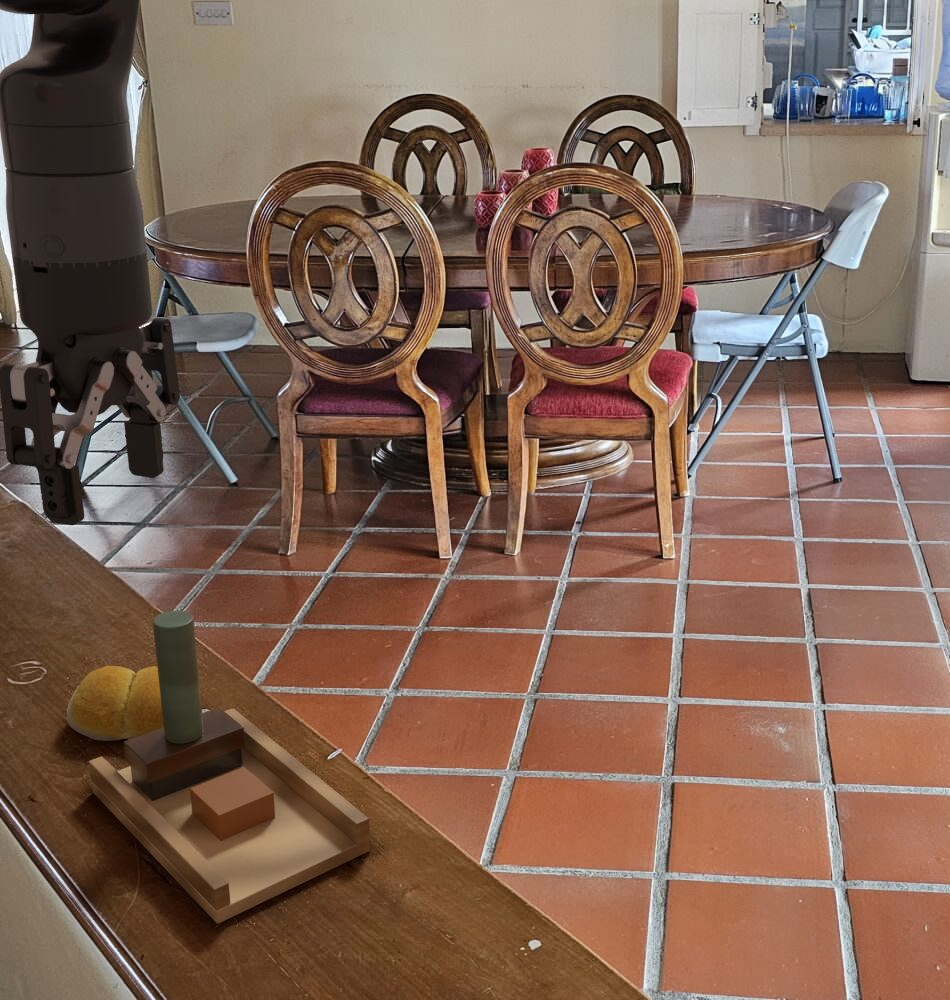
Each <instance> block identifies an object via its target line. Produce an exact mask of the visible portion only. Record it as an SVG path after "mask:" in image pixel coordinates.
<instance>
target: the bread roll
mask: <svg viewBox="0 0 950 1000" xmlns="http://www.w3.org/2000/svg"><path fill="white" fill-rule="evenodd" d="M66 722H67V723H68V726H69V727H70V728H72V729H73V730H74V731H75V732H77V733H79V734H80V735H83V736H85V737H87V738H90V739H92V740H95V741H105V742H108V741H109V742H112V741H121V740H130V739H133V738H135V737H138V736H141V735H144V734H147V733H149V732H152V731H155V730H158V729H160V728H163V727H164V725H163V716H162V706H161V697H160V687H159V678H158V668H157V665H156V666H155V665H153V666H148V667H144V668H142V669H140V670H138V671H137V672H135V671H133V670H132V669H130V668H127V667H123V666H120V665H104V666H102V667H99V668H97V669H94V670H92V671H91V672H89V673H88V674H87V675H86V676H85V677H84V678H83V679H82V681H81V682H80V683H79V684H78V685H77V686H76V689H75V690H74V692H73V693H72V696H71V697H70V699H69V702H68V705H67V709H66Z"/></svg>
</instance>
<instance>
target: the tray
mask: <svg viewBox="0 0 950 1000" xmlns="http://www.w3.org/2000/svg"><path fill="white" fill-rule="evenodd" d="M224 711H225V712H226V713H227V714H228V715H229V716H231V717H232V718H233V719H234V720H235V721H237V722H238V723H239V724H240V725H242V726H243V727H244V737H245V746H244V747H242V748H241V751H242V763H243V765H242V766H239V767H237V768H234V769H232V770H229V771H227V772H224V773H222V774H219V775H217V776H214V777H212V778H209V779H207V780H204V781H202V782H199V783H197V784H194V785H192V786H189V787H187V788H184V789H182V790H179V791H177V792H174V793H172V794H169V795H167V796H164V797H162V798H159V799H157V800H154V801H152V800H151V799H150V798H149V797H148V796H147V795H146V794H145V793H144V792H143V791H142V790H141V789H140V788H139V787H138V786H137V785H136V784H135V783H134V782H133V781H132V774H131V766H130V765H129V766H127V767H123V768H121V769H118V770H116V768H115V767H113V765H112V764H110V762H108V760H107V759H105V757H104V756H98V757H96V758H93V759H90V760H89V761H88V767H89V774H90V776H89V777H90V780H91V782H90V783H91V789H92V793H93V794H94V795H95V796H96V797H97V799H98V800H99V801H100V802H101V803H102V804H103V805H104V806H105V807H106V808H107V809H108V810H109V811H110V812H111V813H112V814H113V815H114V816H115V817H116V818H117V820H118V821H120V823H121V824H122V825H123V826H124V828H126V829H127V830H128V831H129V832H130V834H132V835H133V836H134V837H135V839H137V841H138V842H139V843H140V844H141V846H143V847H144V848H145V849H146V850H147V852H149V853H150V855H151V856H153V858H154V859H155V860H156V861H157V862H158V863H159V864H160V865H161V866H162V867H163V868H164V869H165V870H166V871H167V873H169V874H170V876H172V878H173V879H174V880H175V881H176V882H178V884H179V885H180V886H181V887H182V889H183V890H185V891H186V893H187V894H188V895H189V896H190V897H191V898H192V899H193V900H194V901H195V902H196V903H197V904H198V905H199V906H200V907H201V908H202V909H203V911H205V912H206V914H207V915H208V916H209V917H210V918H211V919H212V920H213V921H214V922H215V923H216V924H221V923H223V922H225V921H227V920H229V919H231V918H233V917H235V916H237V915H240V914H242V913H244V912H246V911H248V910H250V909H252V908H255V907H256V906H258V905H261V904H263V903H265V902H266V901H268V900H271V899H273V898H275V897H277V896H279V895H281V894H283V893H286V892H287V891H289V890H292V889H294V888H295V887H298V886H300V885H302V884H304V883H306V882H308V881H310V880H313V879H315V878H316V877H319V876H321V875H323V874H325V873H327V872H329V871H331V870H334V869H336V868H337V867H339V866H341V865H344V864H346V863H348V862H351V861H352V860H354V859H356V858H358V857H360V856H362V855H364V854H367V853H369V852H370V851H371V844H370V843H371V841H370V838H371V836H370V835H371V833H370V818H369V817H368V816H367V815H365V814H364V813H363V812H362V811H360V810H359V809H358V808H357V807H355V806H354V805H353V804H352V803H350V801H348V800H347V799H346V798H345V797H343V796H342V795H341V794H339V793H338V792H337V791H336V790H334V788H333V787H331V786H330V785H329V784H328V783H326V782H325V781H323V779H322V778H320V777H319V776H318V775H316V774H315V773H314V772H313V771H311V770H310V769H309V768H308V767H307V766H305V764H303V763H302V762H300V761H299V760H298V759H296V758H295V757H294V756H293V755H292V754H290V753H289V752H288V751H287V750H286V749H285V748H283V747H282V746H280V744H279V743H277V742H276V741H274V740H273V739H272V738H271V737H269V736H268V735H267V734H266V733H265V732H264V731H262V730H261V729H260V728H259V727H258V726H256V725H255V724H254V723H253V722H251V721H250V720H249V719H248V718H247V717H245V716H244V715H242V713H240V712H239V711H238V710H236V709H235V708H234V707H233V708H232V707H231V708H230V709H227V710H224ZM242 767H245V768H246V769H247V770H248V771H249V772H250V773H251V774H253V775H254V776H255V777H256V778H257V779H258V780H260V781H261V782H262V783H263V784H264V785H265V786H266V787H268V788H269V789H270V790H271V791H272V792H273V793H274V807H275V818H272V819H270V820H268V821H265V822H263V823H261V824H259V825H256V826H254V827H252V828H249V829H247V830H245V831H243V832H240V833H238V834H236V835H233V836H231V837H229V838H226V839H224V840H222V841H221V840H220V839H218V838H217V837H216V836H215V835H214V834H213V833H212V832H211V831H210V830H209V829H208V828H207V827H206V826H205V825H204V824H203V823H202V822H201V821H200V820H199V819H198V818H197V817H196V816H195V815H194V814H193V813H192V806H191V796H190V788H192V787H195V786H197V785H200V784H202V783H205V782H207V781H210V780H212V779H215V778H217V777H220V776H222V775H225V774H227V773H230V772H232V771H235V770H237V769H240V768H242Z"/></svg>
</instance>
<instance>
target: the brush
mask: <svg viewBox="0 0 950 1000" xmlns="http://www.w3.org/2000/svg"><path fill="white" fill-rule="evenodd" d="M194 619H195V618H194V615H193V614H192V613H191V612H189V611H187V610H178V609H176V610H168V611H164V612H160V613H159V614H157V615H156V616H155V617H154V618H153V619H152V629H153V630H152V631H153V637H154V638H153V639H154V648H155V649H154V650H155V657H156V666H157V668H158V678H159V687H160V697H161V706H162V716H163V725H164V727H163V728H160V729H158V730H155V731H152V732H149V733H147V734H144V735H141V736H138V737H135V738H133V739H130V740H128V739H126V740H124V741H123V749H124V756H125V758H124V759H125V762H126V763H127V764H128V765H129V766H131V774H132V781H133V782H134V783H135V784H136V785H137V786H138V787H139V788H140V789H141V790H142V791H143V792H144V793H145V794H146V795H147V796H148V797H149V798H150V799H151V800H152V801H154V800H157V799H159V798H162V797H164V796H167V795H169V794H172V793H174V792H177V791H179V790H182V789H184V788H187V787H189V786H192V785H194V784H197V783H199V782H202V781H204V780H207V779H209V778H212V777H214V776H217V775H219V774H222V773H224V772H227V771H229V770H232V769H234V768H237V767H239V766H242V765H243V763H242V751H241V748H242V747H244V746H245V737H244V727H243V726H242V725H240V724H239V723H238V722H237V721H235V720H234V719H233V718H232V717H231V716H229V715H228V714H227V713H226V712H225V711H226V710H223V709H222V708H221V707H220V706H218V707H216V708H212V709H209V710H208V711H207V710H206V711H204V712H203V708H202V697H201V696H202V695H201V684H200V675H199V665H198V653H197V642H196V641H197V640H196V631H195V620H194Z"/></svg>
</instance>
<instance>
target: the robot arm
mask: <svg viewBox="0 0 950 1000" xmlns="http://www.w3.org/2000/svg"><path fill="white" fill-rule="evenodd" d="M140 8H141V0H0V10H1V11H3V12H7V13H10V14H16V15H33V23H32V24H33V25H32V33H31V34H32V35H31V41H30V46H29V49H28V51H27V53H26V54H25V55H24V56H23V57H22V58H20V59H18V60H16V61H14V62H12V63H10V64H9V65H7V66H6V67H3V69H2V70H1V71H0V139H1V141H0V142H1V147H2V156H3V163H4V168H5V182H6V183H5V211H6V220H7V221H6V222H7V227H8V229H7V230H8V237H9V243H10V244H9V245H10V252H11V259H12V266H13V272H14V273H13V274H14V280H15V289H16V296H17V304H18V311H19V318H20V321H21V322H22V323H21V324H23V326H25V327H26V328H27V329H29V330H30V331H31V332H32V334H33V335H35V337H36V340H37V352H36V358H35V362H30V363H27V364H21V365H20V364H10V363H5V364H3V365H1V367H0V403H1V413H2V424H3V435H4V444H5V454H6V460H7V462H8V463H9V464H11V465H17V466H25V467H32V468H35V469H36V471H37V474H38V481H39V488H40V490H39V491H40V494H41V505H42V510H43V513H44V514H45V517H46V518H47V519H48V521H50V522H51V523H55V524H60V525H67V526H75V525H77V524H80V522H82V521H84V519H85V509H84V500H83V491H82V481H81V476H80V466H79V465H76V462H77V459H78V455H79V452H80V450H81V446H82V443H83V439H84V437H86V436H88V435H90V434H92V432H93V430H94V427H95V425H96V422H97V418H98V416H100V415H102V414H104V413H106V411H108V410H109V408H111V407H112V406H117V408H118V409H119V410H120V411H121V413H122V415H123V416H124V417H125V418H127V419H128V420H126V421H124V422H123V425H124V426H123V427H124V434H125V435H124V436H125V444H126V453H127V454H126V455H127V463H128V470H129V472H130V473H131V475H133V476H136V477H143V478H150V479H155V478H157V477H159V476H160V475H162V474H163V473H164V468H165V467H164V448H163V447H164V446H163V437H162V425H161V422H163V421H164V420H165V418H166V414H167V411H166V409H167V407H168V406H169V405H172V406H175V405H177V404H178V403H179V401H180V398H181V393H180V391H181V390H180V383H179V375H178V367H177V360H176V352H175V344H174V337H173V336H174V335H173V329H172V323H171V320H170V319H169V318H163V317H156V316H155V317H153V316H152V315H153V304H152V294H151V283H150V272H149V263H148V251H147V241H146V231H145V230H146V229H145V220H144V212H143V211H144V210H143V204H142V199H141V195H140V190H139V187H138V182H137V178H136V172H135V167H134V165H135V164H134V161H135V160H134V153H133V141H132V131H131V122H130V112H129V106H128V85H129V80H130V75H131V70H132V66H133V60H134V53H135V44H136V38H137V29H138V21H139V15H140V14H139V13H140ZM153 371H155V372H158V373H159V374H160V378H161V384H156V383H155V382H154V377H153ZM58 404H59V405H60V406H61V407H62V409H64V410H65V411H67V412H68V413H72V414H64V413H57V412H56V410H57V408H58ZM26 429H29V430H31V432H32V440H31V443H30V444H27V435H26ZM58 432H63V436H62V439H61V441H60V445H59V446H58V447H57V446H56V444H55V442H56V441H55V436H56V433H58Z"/></svg>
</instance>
